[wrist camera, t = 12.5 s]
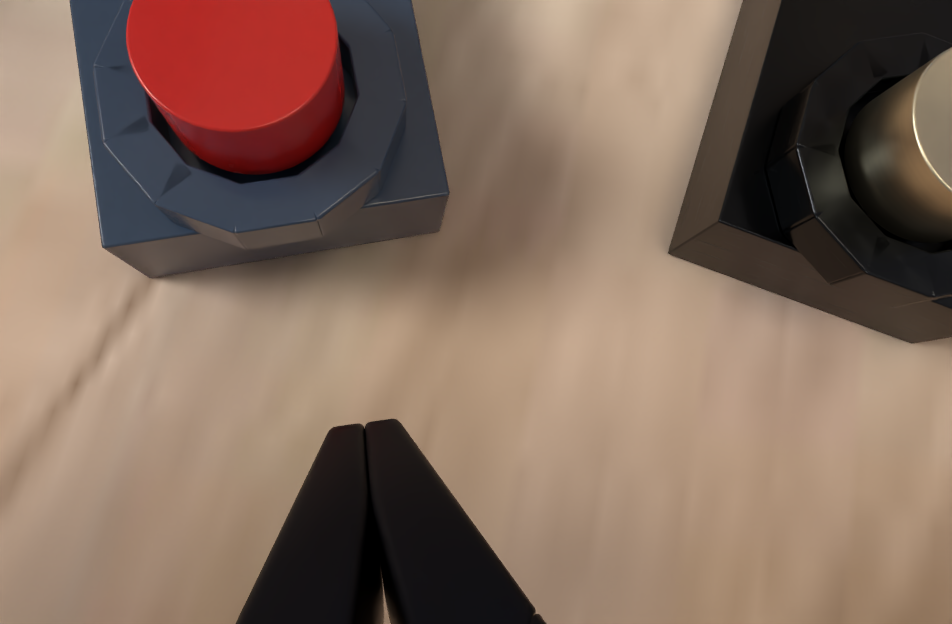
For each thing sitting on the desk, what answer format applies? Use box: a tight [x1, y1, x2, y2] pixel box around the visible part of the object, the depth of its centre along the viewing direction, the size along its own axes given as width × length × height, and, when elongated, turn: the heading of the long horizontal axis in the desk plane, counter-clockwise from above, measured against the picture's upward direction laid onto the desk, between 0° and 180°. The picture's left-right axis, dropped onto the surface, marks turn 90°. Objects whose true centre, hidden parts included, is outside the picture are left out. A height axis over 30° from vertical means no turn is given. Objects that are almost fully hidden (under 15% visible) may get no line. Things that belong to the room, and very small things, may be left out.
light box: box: [668, 0, 952, 343], centre depth 23 cm, size 12×9×6 cm
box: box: [70, 0, 450, 278], centre depth 21 cm, size 12×9×6 cm
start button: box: [126, 0, 345, 175], centre depth 17 cm, size 4×4×3 cm
